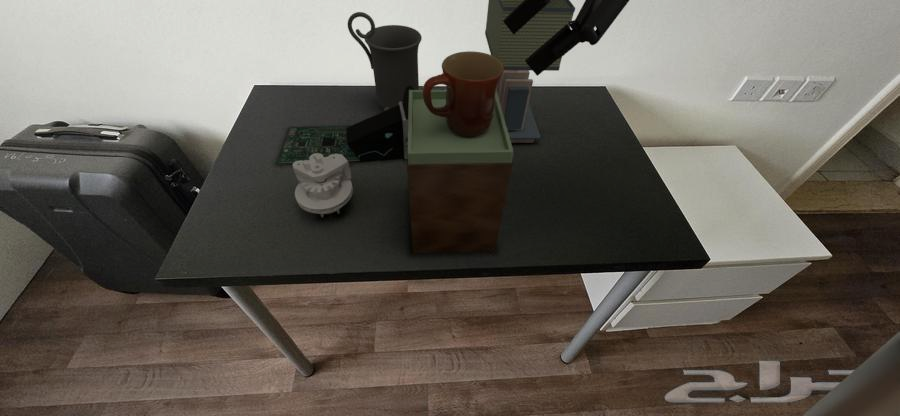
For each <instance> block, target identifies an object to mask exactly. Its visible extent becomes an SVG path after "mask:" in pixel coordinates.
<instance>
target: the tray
mask: <svg viewBox="0 0 900 416" xmlns="http://www.w3.org/2000/svg"><path fill="white" fill-rule="evenodd" d="M446 91H447V89H432V90H431V101H432V105H433V106H434V107H436V108H440V107H443V106H445V104H446ZM512 144H513V143H511V141H510V137H509V134H508V130H507V126H506V123H505V119H504V116H503V112H502V109H501V105H500V102H499V98H498V95H497V91H496V93H495V103H494V111H493V119H492V122H491V125H490V127H489V129H488V130H487V131H486V132H485V133H484V134H482V135H479V136H475V137H464V136H460V135H457V134H455V133H453V132H452V131H451V130H450V129H449V128H448V126H447V122H446V117H440V116H436V115H434V114H432V113H431V112H430V111H429V110H428V108H427V107H426V105H425V103H424V99H423V89H419V90H409V114H408V164H409V165H413V164H475V163H513V157H514V152H515V151H514V148H513V145H512Z"/></svg>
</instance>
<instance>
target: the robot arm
mask: <svg viewBox="0 0 900 416" xmlns="http://www.w3.org/2000/svg"><path fill="white" fill-rule="evenodd" d="M550 1H551V0H546V1H545V0H524V1H523V2H522V3H521V4H520V5H519V6H518V7H517V8H516V9H515V10H514V11H513V12H512V13H511V14H509V15H508V16H507V17H506V18H505V19H504V20H503V22H504V23H505V25H506V26H507V27H508V28H509V29H510V31H511V32H512V33H513V34H515V33H516V32H517V31H518V30H520V29H521V28H522V27H523V26H524V25H525V24H526V23H527V22H528V21H529V20H530V19H532V18H533V17H534V16H535V15H536V14H537V13H538V12H539V11H540V10H541V9H542V8H544V7H545V6H546V5H547V3H548V4H549V3H550ZM629 2H630V0H584V2H583V4H582V6H581V8H580V10H579V11H578V12H577V13H578V14H577V15H576V17H575V19H574V20H573V19H572V21H571V23H570V21H569V23H568V24H569V26H570V27H569V26H568V25H567V24H566V25H565V26H564V27H563V28H562V29H561V30H559V31H558V32H557V33H556V34H555V35H554V36H552V37H551V38H550V39H549V40H548V41H547V42H546V43H544V44H543V45H542V46H541V47H540V48H539V49H537V50H536V51H535V52H534V53H533V54H532V55H530V56H529V57H528V58H527V59H526V60H525V61H526V63H527V64H528V66H529V67H530V68H531V69H532V70H531V71H532V72H533V73H534V74H535V76H537V77H538V76H539V75H541V74H542V73H543V72H544V70H545V69H546V68H548V67H549V66H550V65H551V64H552V63H554V62H555V61H556V60H557V59H559V58H561V57H562V58H563V57H564V56H565V55H566V54H567V53H569V52H570V51H571V50H572V49H573V48H575V47H576V46H577V45H578V44H580V43H582V44H583V43H589V45H590V46H595V45H597V44H598V43H599V41H600V40H601V39H602V38H603V36H604V35H605V34H606V32H607V31H608V29H609V28H610V27H611V26H612V24H613V23H614V21H615V20H616V19H617V18H618V17H619V15H620V14H621V13H622V11H623V10H624V8H625V7H626V6H627V5H628V3H629ZM801 416H900V330H899V331H897V332H896V334H895V335H893V336H892V337H891V338H890V339H889V340H888V341H886V342H885V343H884V344H883V345H882V346H881V347H879V348H878V349H877V350H876V351H875V352H873V354H871V355H870V356H869V357H868V358H867V359H866V360H865V361H863V362H862V363H861V364H860V365H858V367H856V368H855V369H854V370H853V371H852V372H850V374H849V375H847V376H846V377H845V378H844V379H843V380H842V381H840V382H839V383H838V384H836V386H835V387H833V388H832V389H831V390H829V392H828V393H826V394H825V395H824V396H823V397H822V398H821V399H820V400H818V402H816V403H815V404H814V405H813V406H811V407H810V408H809V409H808V410H807V411H805V412H804V414H802V415H801Z"/></svg>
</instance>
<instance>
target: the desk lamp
mask: <svg viewBox="0 0 900 416" xmlns="http://www.w3.org/2000/svg"><path fill="white" fill-rule="evenodd" d="M523 1H524V0H488V4H487V13H486V23H485V31H484V35H485V39H486V42H487V46H488V50H489V53H490V55H492V56H494V57H496V58H498V59H499V60H500V61H501V62H502V63H503V65H504V72H503V74H502V76H501V78H500V80H499V83H498V85H497V88H496V91H497V95H498V98H499V102H500V105H501V109H502V112H503V116H504V119H505V123H506V126H507V130H508V134H509V137H510V141H511V144H524V143H525V144H529V143H531V144H534V142H535V140H541V139H542V137H541V134H540V131H539V128H538V126H537V122H536V119H535V117H534V115H533V112H532V109H531V106H530V104H529V103H530V98H531V94H532V89H533V83H534V80H533V78H530V74H531V72H530V71H533V70H532V69H531V68H530V67H529V66H528V64H527V63H526V61H525V60H526V59H527V58H528V57H529V56H530V55H532V54H533V53H534V52H535V51H536V50H537V49H539V48H540V47H541V46H542V45H543V44H544V43H546V42H547V41H548V40H549V39H550V38H551V37H552V36H554V35H555V34H556V33H557V32H558V31H559V30H561V29H562V28H563V27H564V26H565V25H566V24H567V25H568V26H569V24H568V23H569V21H570V23H571V21H573V18H574V13H575V11H576V7H575V5H574V4H573V3H572V2H571V0H551V1H550V3H549V4H548V3H547V5H546V6H545V7H544V8H542V9H541V10H540V11H539V12H538V13H537V14H536V15H535V16H534V17H533V18H532V19H530V20H529V21H528V22H527V23H526V24H525V25H524V26H523V27H522V28H521V29H520V30H518V31H517V32H516V33H515V34H513V33H512V32H511V31H510V29H509V28H508V27H507V26H506V25H505V23H504V22H503V20H504V19H505V18H506V17H507V16H508V15H509V14H511V13H512V12H513V11H514V10H515V9H516V8H517V7H518V6H519V5H520V4H521V3H522V2H523ZM545 1H546V0H545ZM569 27H570V26H569ZM570 28H571V27H570ZM562 58H563V56H562V57H561V58H559V59H557V60H556V61H555V62H554V63H552V64H551V65H550V66H549V67H548V68H546V69H545V70H544V71H548V72H549V71H551V72H552V71H553V72H555V71H560V67H561V63H562V60H563V59H562ZM544 71H543V72H544Z"/></svg>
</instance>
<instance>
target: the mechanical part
mask: <svg viewBox="0 0 900 416" xmlns="http://www.w3.org/2000/svg"><path fill="white" fill-rule="evenodd" d="M292 169H293V172H294V175H295V178H296V180H297V181H298V182H299V183H298V184H297V186H296V187H295V190H294V197H295V200H296V203H297V204H298V206H299V208H301V209H302V210H304V212H305V211H306V212H307V213H308V212H309V213H311V214H318V215H320V217H321V218H324V217H325V215H329V214H333V213H335V212H336V213H337V214H338V215H339V214H341V210H340V209H341V208H343V207H344V206H345V205H346V204H348V202H350V200H351V198H352V196H353V193H354V188H353V184H352V181H351V179H352V172H351V168H350V164H349V161H347V160H346V158H345V157H344V156H343V155H342V154H332V155H329V156H328V157H323V155H322V154H320V153H314V154H312V155H311V156H310V157H309V160H304V161H302V160H299V161H295V162H294V163H292Z"/></svg>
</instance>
